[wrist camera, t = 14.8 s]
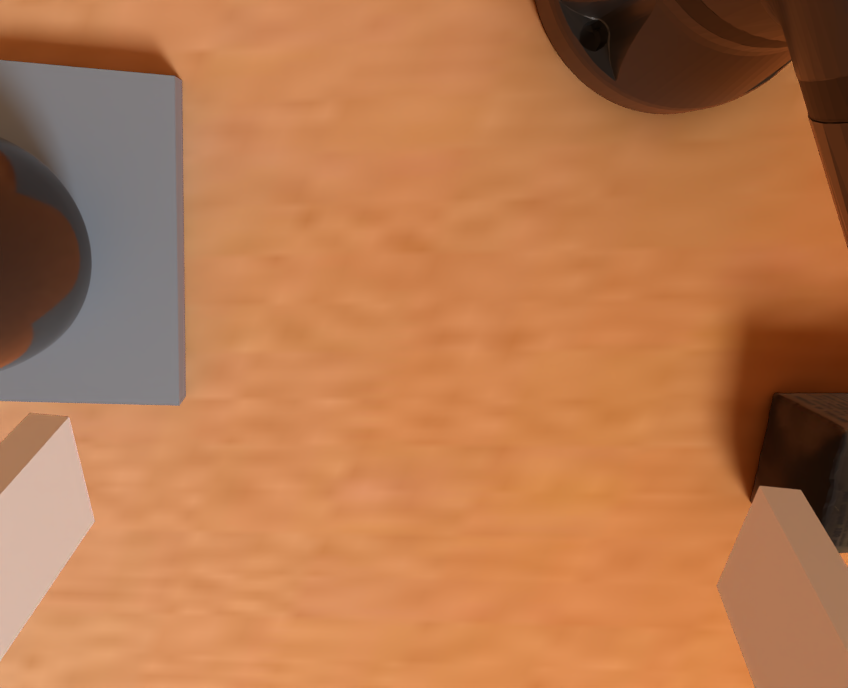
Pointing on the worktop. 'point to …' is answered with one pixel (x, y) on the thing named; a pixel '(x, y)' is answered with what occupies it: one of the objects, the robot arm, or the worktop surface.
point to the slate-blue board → (109, 229)
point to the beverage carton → (810, 456)
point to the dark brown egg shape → (37, 257)
